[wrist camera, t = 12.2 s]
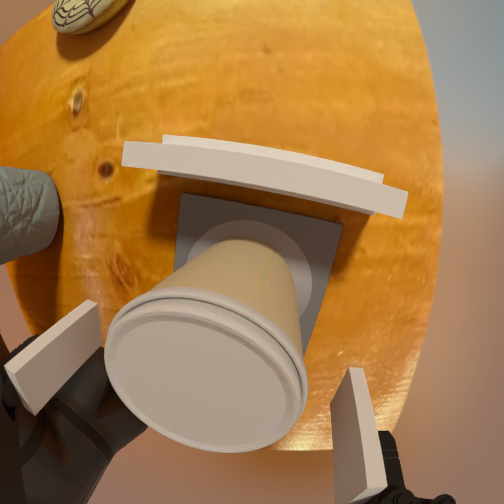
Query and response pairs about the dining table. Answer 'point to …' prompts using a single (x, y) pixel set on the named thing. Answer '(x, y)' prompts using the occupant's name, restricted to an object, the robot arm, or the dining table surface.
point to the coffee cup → (214, 350)
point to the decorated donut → (84, 14)
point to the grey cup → (26, 212)
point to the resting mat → (270, 232)
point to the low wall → (268, 172)
